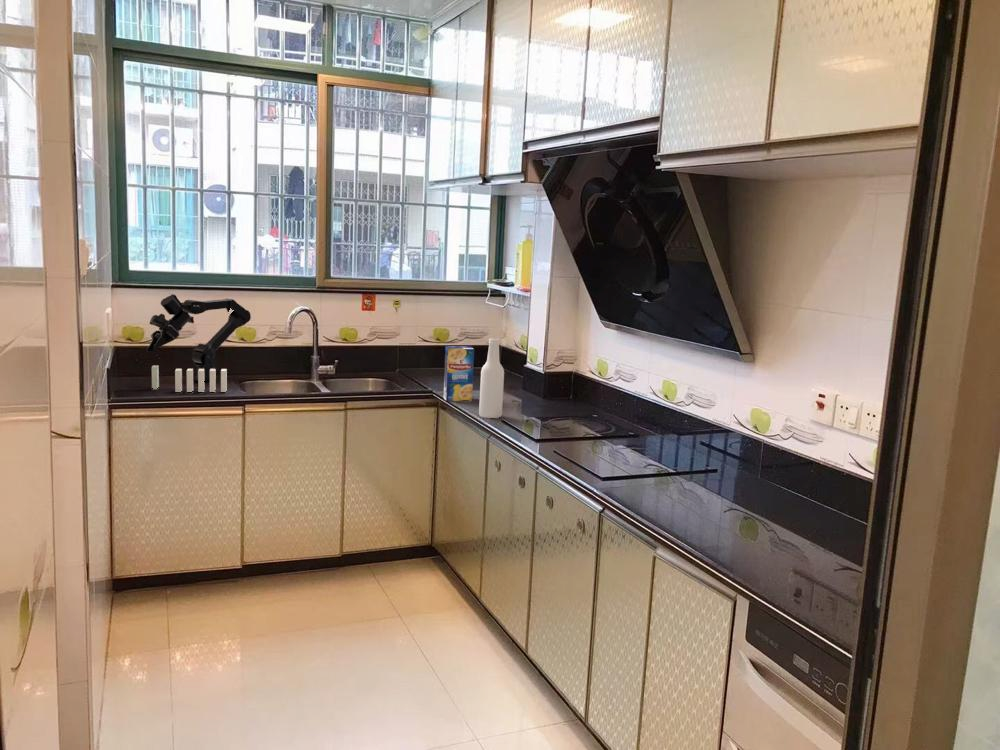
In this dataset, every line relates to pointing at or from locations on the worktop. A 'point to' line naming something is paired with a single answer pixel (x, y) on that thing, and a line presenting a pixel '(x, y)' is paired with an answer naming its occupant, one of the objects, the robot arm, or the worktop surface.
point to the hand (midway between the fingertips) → (151, 349)
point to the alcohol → (491, 383)
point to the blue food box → (458, 373)
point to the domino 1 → (155, 376)
